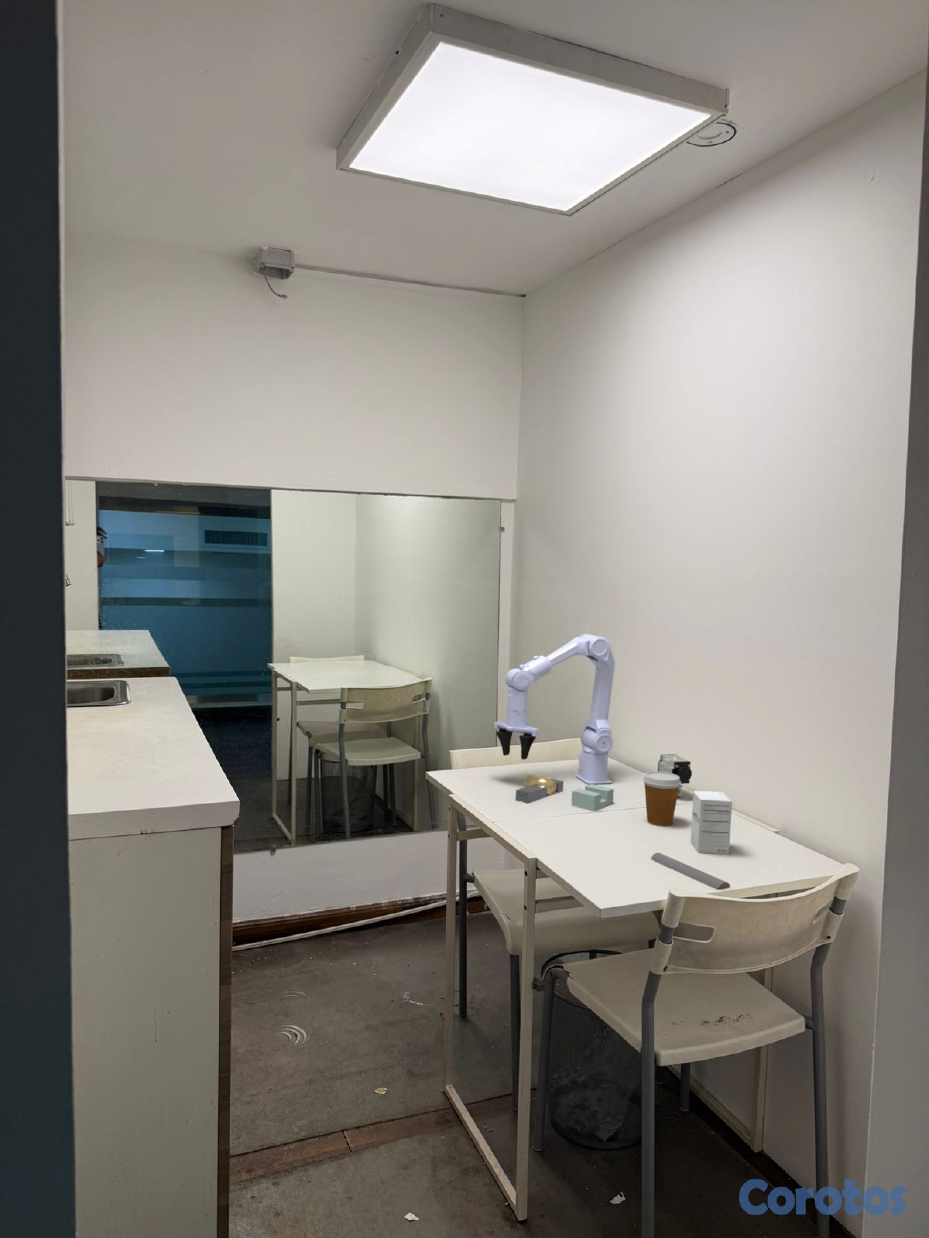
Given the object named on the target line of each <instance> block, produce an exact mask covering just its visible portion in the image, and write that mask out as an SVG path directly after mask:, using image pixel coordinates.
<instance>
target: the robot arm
mask: <svg viewBox="0 0 929 1238" xmlns="http://www.w3.org/2000/svg"><path fill="white" fill-rule="evenodd" d="M574 656H585V657H587V658H588V659H589V660H590V662H592V663H593V664H594V665H595V673H594V681H593V688H592V694H591V695H592V697H591V704H590V713H589V718H588V719H587V720H586V721H585V723H584V728H583V729H582V731H581V733H580V742H581V744H582V745H583V749H582V750H581V752H580V753H579V756H578V774H575V777H576V778H578V779H580V780H581V781H582V782H584V783H586V785H590V784H594V785H600V784H601V785H603V784H613V781H612V780H610V779H608V765H609V764H608V761H609V760H608V759H609V751H610V750H611V749H612V747H613V743H614V741H613V737H612V727H611V725H610V724H609V721H608V720H609V713H610V706H611V697H612V691H613V681H614V674H615V665H616V661H615V657H614V655H613V652H612V643H610V641H608V640H607V638H605V637H603V636H599V635H598V636H597V635H593V634H590V633H582V634H580V635H579V636H577V637H574V638H572V640H570V641H569V642H568V643H566V644H564V645H563V646H561V647H559V648H558V649H556V650H554V651H553V652H552V653H550V654H549V655H546V656H544V655H539V656H538V655H534V656H533V657H532V659H531V660H530V661H527V662H526V663H525V664H519V667H518V668H512V669H510V670H509V671H508V673H506V675H505V678H504V682H505V683H506V685H507V701H506V702H507V703H506V704H507V706H506V721H505V722H504V721H494V723H493V724H494V726H493V727H494V728H493V729H494V730H497V731H496V737H497V738H498V740H499V742H500V745H501V748H502V749H501V750H502V755H503V756H509V755H510V752H511V743H512V741H511V740H512V736H513V733H518V734H521V735H518V736H519V742H520V756H521V757H520V758H521V760H523V761H525V760H527V759H528V757H529V753H530V750H531V748H532V745H533V743H534V741H535V740H536V738H537V737H540V736H539V735H540V729H539V728H537V727H536V728H535V727H532V726H529V725H527V721H528V720H527V717H528V691H529V689H530V687H531V686H532V684H533V683H535V682H537V681H538V680H540V679H542V678H544V677H545V676H547V675H549V674H550V673H551V671H552V669H553V667H555V666H556V665H558V664H560V663H562V662H565V661H567V660H568V659H570V658H572V657H574Z"/></svg>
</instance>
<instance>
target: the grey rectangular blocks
mask: <svg viewBox="0 0 929 1238" xmlns="http://www.w3.org/2000/svg"><path fill="white" fill-rule="evenodd" d="M551 779H552V780H555V781H556V784H557V787H556V791H555V793H560V792H564V780H560V779H557V778H551ZM547 796H548V795H547V787H546V786H542V785H538V784H533V785H530V786H527V787H525V786H524V787H522V788H519V789H516V790H515V801H516V802H517V801H518V802H520V801H522V802H521V803H524V802H525V803H524V804H529V802H530V803H532V801H533V802H536V801H539V800H541V799H543V798H546V797H547Z"/></svg>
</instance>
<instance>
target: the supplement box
mask: <svg viewBox="0 0 929 1238" xmlns="http://www.w3.org/2000/svg"><path fill="white" fill-rule="evenodd" d="M692 795H693V796H692V797H693V798H692V813H691V829H690V843H691V844H692V845H693V846H694V848H695V849H696V851H697V852H698V853H702V854H703V853H704V854H719V855H721V854H723V855H728V854H730V839H731V828H732V827H731V824H732V809H733V807H732V806H733V801H732V799H730V797H728V795H727V794H726V793H724V792H723V791H710V790H707V791H705V790H704V791H703V790H702V791H701V790H693V794H692Z"/></svg>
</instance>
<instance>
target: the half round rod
mask: <svg viewBox="0 0 929 1238" xmlns="http://www.w3.org/2000/svg"><path fill="white" fill-rule="evenodd" d="M651 859H652V860H654V861H653V862H655V863H657V862H658V863H657V864H659V863H660V865H661V866H663V867H666V868H668V869H669V870H670V869H671V870H672V869H673V870H672V871H675V872H678V873H679V874H682V875H684V876H686V877H689V878H691V879H693V880H694V881H697V882H698V883H699V882H700V883H701V884H704V885H706V886H708V887H711V888H713V889H715V890H720V889H723V888H727V887H728V888H729V887H730V886H731V884H730V883H729V882H727V881H726V880H723V879H720V878H718V877H716V876H713V875H711V874H709V873H707V872H704V871H702V870H700V869H697V868H695V867H693V866H691V865H688V864H687V863H684V862H682V861H679V860H677V859H675V858H672V857H670V856H668V855H665V854H663V853H661V852H655V853H653V854H652V855H651V858H650V860H651ZM652 860H651V861H652Z"/></svg>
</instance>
